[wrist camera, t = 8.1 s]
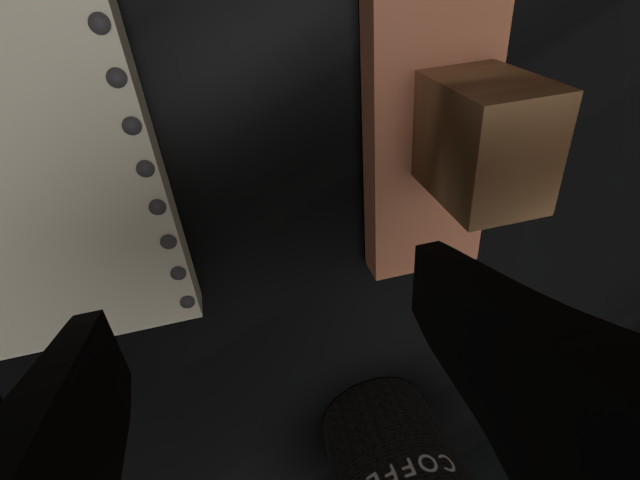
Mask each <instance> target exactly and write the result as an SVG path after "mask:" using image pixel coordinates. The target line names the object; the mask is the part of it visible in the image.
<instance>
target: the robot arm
mask: <svg viewBox="0 0 640 480" xmlns="http://www.w3.org/2000/svg"><path fill="white" fill-rule="evenodd" d="M412 311H413V313H414V315H415V318H416V320H417V322H418V324H419V326H420V329H421V331H422V333H423V335H424V337H425V339H426V341H427V343H428V345H429V346H430V348H431V350H432V351H433V353H434V354H435V356H436V358H437V359H438V361H439V362H440V364H441V365H442V367H443V368H444V370H445V372H446V373H447V375H448V376H449V378H450V379H451V381H452V382H453V384H454V385H455V387H456V389H457V390H458V392H459V393H460V395H461V396H462V398H463V399H464V401H465V402H466V404H467V405H468V407H469V409H470V410H471V412H472V413H473V415H474V416H475V418H476V419H477V421H478V423H479V424H480V426H481V428H482V429H483V431H484V433H485V434H486V436H487V438H488V440H489V441H490V443H491V445H492V447H493V449H494V451H495V453H496V455H497V457H498V459H499V461H500V463H501V465H502V467H503V469H504V470H505V472H506V474H507V476H508V478H509V480H640V333H638V332H635V331H632V330H629V329H626V328H624V327H621V326H618V325H615V324H613V323H610V322H607V321H605V320H602V319H600V318H597V317H594V316H592V315H589V314H587V313H584V312H582V311H579V310H577V309H574V308H572V307H570V306H567V305H565V304H563V303H561V302H559V301H556V300H554V299H552V298H550V297H548V296H546V295H543V294H541V293H539V292H537V291H535V290H533V289H531V288H529V287H527V286H525V285H523V284H521V283H519V282H517V281H515V280H513V279H511V278H509V277H507V276H505V275H503V274H501V273H499V272H498V271H496V270H494V269H492V268H490V267H488V266H486V265H484V264H483V263H481V262H479V261H477V260H475V259H473V258H472V257H470V256H468V255H466V254H464V253H462V252H460V251H459V250H457V249H455V248H453V247H451V246H449V245H447V244H445V243H443V242H441V241H435V242H430V243H425V244H420V245H415V263H414V280H413V298H412ZM130 409H131V372H130V370H129V368H128V366H127V363H126V361H125V359H124V356H123V354H122V352H121V350H120V347H119V345H118V343H117V341H116V338H115V336H114V334H113V332H112V329H111V327H110V325H109V323H108V320H107V318H106V316H105V313H104V311H103V309H102V310H97V311H92V312H87V313H82V314H78V315H73V316H72V317H71V318H70V319H69V320H68V322H67V323H66V324H65V325H64V326H63V328H62V329H61V330H60V331H59V333H58V334H57V335H56V336H55V338H54V339H53V340H52V341H51V343H50V344H49V345H48V346H47V348H46V349H45V350H44V351H43V353H42V354H41V355H40V356H39V358H38V359H37V360H36V361H35V363H34V364H33V365H32V366H31V367H30V369H29V370H28V371H27V372H26V373H25V375H24V376H23V377H22V378H21V380H20V381H19V382H18V383H17V384H16V386H15V387H14V388H13V389H12V390H11V392H10V393H9V394H8V395H7V396H6V398H5V399H4V400H3V401H2V402H1V403H0V480H121V474H122V468H123V462H124V455H125V449H126V442H127V436H128V429H129V422H130Z"/></svg>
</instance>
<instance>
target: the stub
mask: <svg viewBox="0 0 640 480" xmlns="http://www.w3.org/2000/svg"><path fill="white" fill-rule="evenodd" d="M514 1H515V0H359V18H360V59H361V100H362V140H363V181H364V222H365V262H366V264H367V266H368V267H369V269H370V271H371V273H372V275H373V276H374V278H375V280H376V281H378V280H382V279H387V278H391V277H396V276H401V275H405V274H410V273H414V263H415V245H420V244H425V243H430V242H435V241H441V242H443V243H445V244H447V245H449V246H451V247H453V248H455V249H457V250H459V251H460V252H462V253H464V254H466V255H468V256H470V257H472V258H473V259H477V256H478V249H479V242H480V235H481V230H484V229H489V228H493V227H498V226H503V225H508V224H513V223H518V222H523V221H527V220H532V219H537V218H542V217H547V216H552V215H553V213H554V209H555V205H556V201H557V197H558V193H559V189H560V185H561V181H562V177H563V172H564V168H565V164H566V160H567V156H568V152H569V148H570V144H571V140H572V136H573V132H574V127H575V123H576V119H577V115H578V111H579V107H580V103H581V99H582V95H583V90H580V89H578V88H575V87H572V86H569V85H566V84H564V83H561V82H558V81H555V80H552V79H549V78H547V77H544V76H541V75H538V74H535V73H532V72H530V71H527V70H524V69H521V68H518V67H516V66H513V65H510V64H507V63H506V56H507V49H508V43H509V36H510V29H511V22H512V15H513V8H514Z"/></svg>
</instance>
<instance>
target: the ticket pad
mask: <svg viewBox="0 0 640 480" xmlns="http://www.w3.org/2000/svg"><path fill="white" fill-rule="evenodd" d="M102 309H103V311H104V313H105V316H106V318H107V320H108V323H109V325H110V327H111V329H112V332H113V334H114V336H116V335H121V334H126V333H130V332H135V331H139V330H144V329H149V328H153V327H158V326H163V325H167V324H172V323H176V322H181V321H186V320H190V319H195V318H200V317H203V316H202V294H201V290H200V287H199V284H198V280H197V277H196V273H195V270H194V266H193V263H192V259H191V256H190V252H189V249H188V245H187V242H186V239H185V235H184V232H183V228H182V225H181V221H180V218H179V214H178V211H177V207H176V204H175V201H174V197H173V194H172V190H171V187H170V183H169V180H168V176H167V173H166V169H165V166H164V162H163V159H162V156H161V152H160V149H159V145H158V142H157V138H156V135H155V131H154V128H153V124H152V121H151V117H150V114H149V111H148V107H147V104H146V100H145V97H144V93H143V90H142V86H141V83H140V79H139V76H138V73H137V69H136V66H135V62H134V59H133V55H132V52H131V48H130V45H129V41H128V38H127V34H126V31H125V28H124V24H123V21H122V17H121V14H120V10H119V7H118V3H117V0H0V361H1V360H5V359H10V358H15V357H19V356H24V355H29V354H33V353H38V352H42V351H44V350H45V349H46V348H47V346H48V345H49V344H50V343H51V341H52V340H53V339H54V338H55V336H56V335H57V334H58V333H59V331H60V330H61V329H62V328H63V326H64V325H65V324H66V323H67V322H68V320H69V319H70V318H71V317H72V316H73V315H78V314H82V313H87V312H92V311H97V310H102Z"/></svg>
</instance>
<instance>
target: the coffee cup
mask: <svg viewBox="0 0 640 480" xmlns="http://www.w3.org/2000/svg"><path fill="white" fill-rule="evenodd" d="M322 427H323V433H324V439H325V445H326V450H327V456H328V461H329V467H330V472H331V478H332V480H475V478H474V477H473V475H472V474H471V472H470V470H469V469H468V467H467V466H466V464H465V463H464V461H463V460H462V458H461V456H460V455H459V453H458V452H457V450H456V449H455V447H454V446H453V444H452V442H451V441H450V439H449V438H448V436H447V435H446V433H445V431H444V430H443V428H442V427H441V425H440V424H439V422H438V421H437V419H436V417H435V416H434V414H433V413H432V411H431V410H430V408H429V406H428V405H427V403H426V402H425V400H424V399H423V397H422V396H421V394H420V392H419V391H418V389H417V388H416V387H415V386H414V385H413V384H412V383H410V382H408V381H406V380H403V379H399V378H378V379H373V380H369V381H366V382H363V383H361V384H358V385H356V386H354V387H352V388H350V389H348V390H347V391H345V392H344V393H342V394H341V395H340V396H339V397H337V398H336V399H335V400H334V401H333V402H332V404H331V405H330V406H329V407H328V409H327V411H326V413H325V415H324V417H323V422H322Z"/></svg>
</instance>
